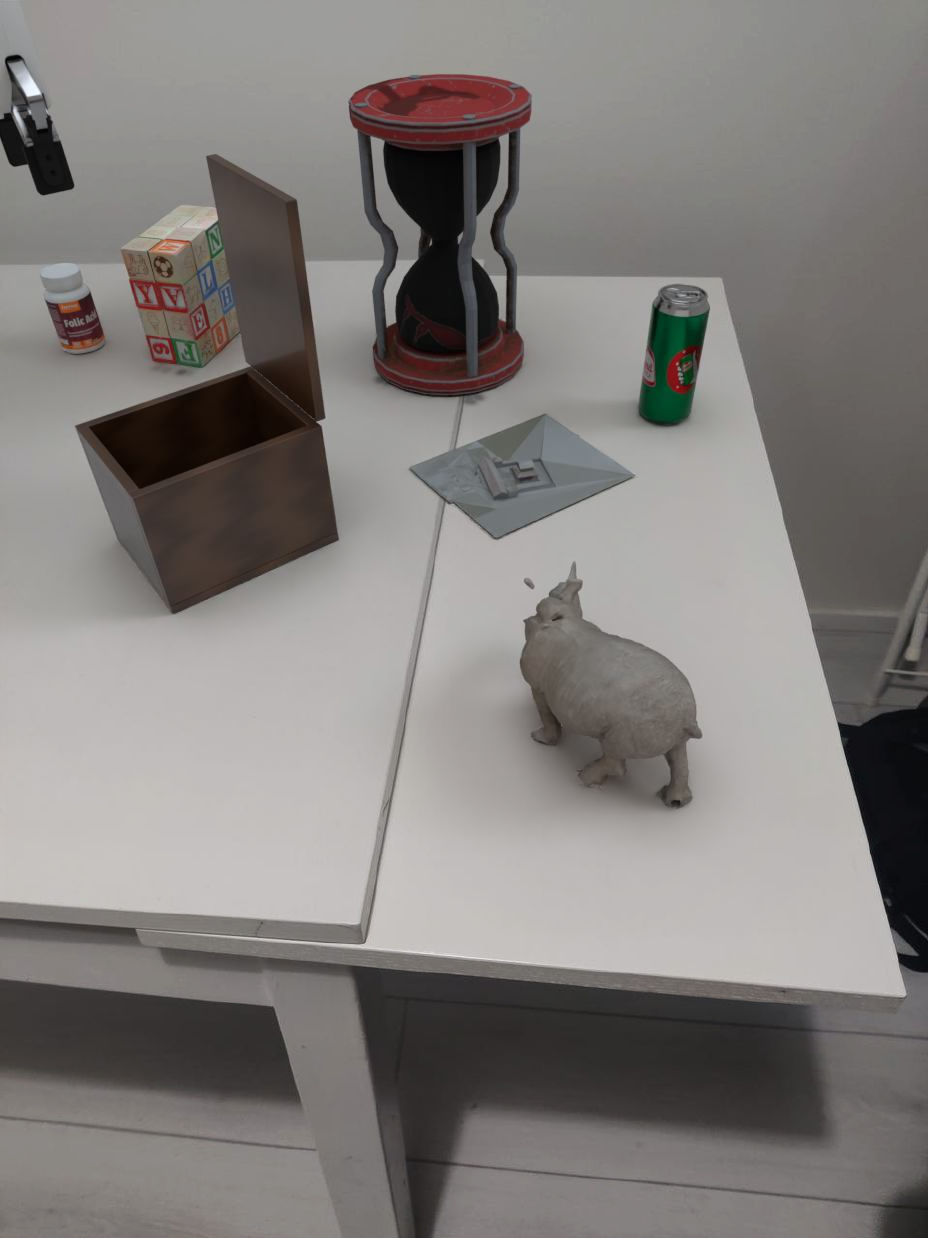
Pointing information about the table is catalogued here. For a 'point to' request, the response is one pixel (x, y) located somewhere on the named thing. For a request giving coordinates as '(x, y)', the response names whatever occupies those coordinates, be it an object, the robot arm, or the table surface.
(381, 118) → the hourglass
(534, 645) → the rhinoceros figurine
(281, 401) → the chest
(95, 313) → the pill bottle
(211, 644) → the table surface
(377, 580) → the table surface
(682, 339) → the soda can
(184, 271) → the stack of blocks
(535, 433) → the grey flat relief plate
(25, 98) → the robot arm
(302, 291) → the lid
